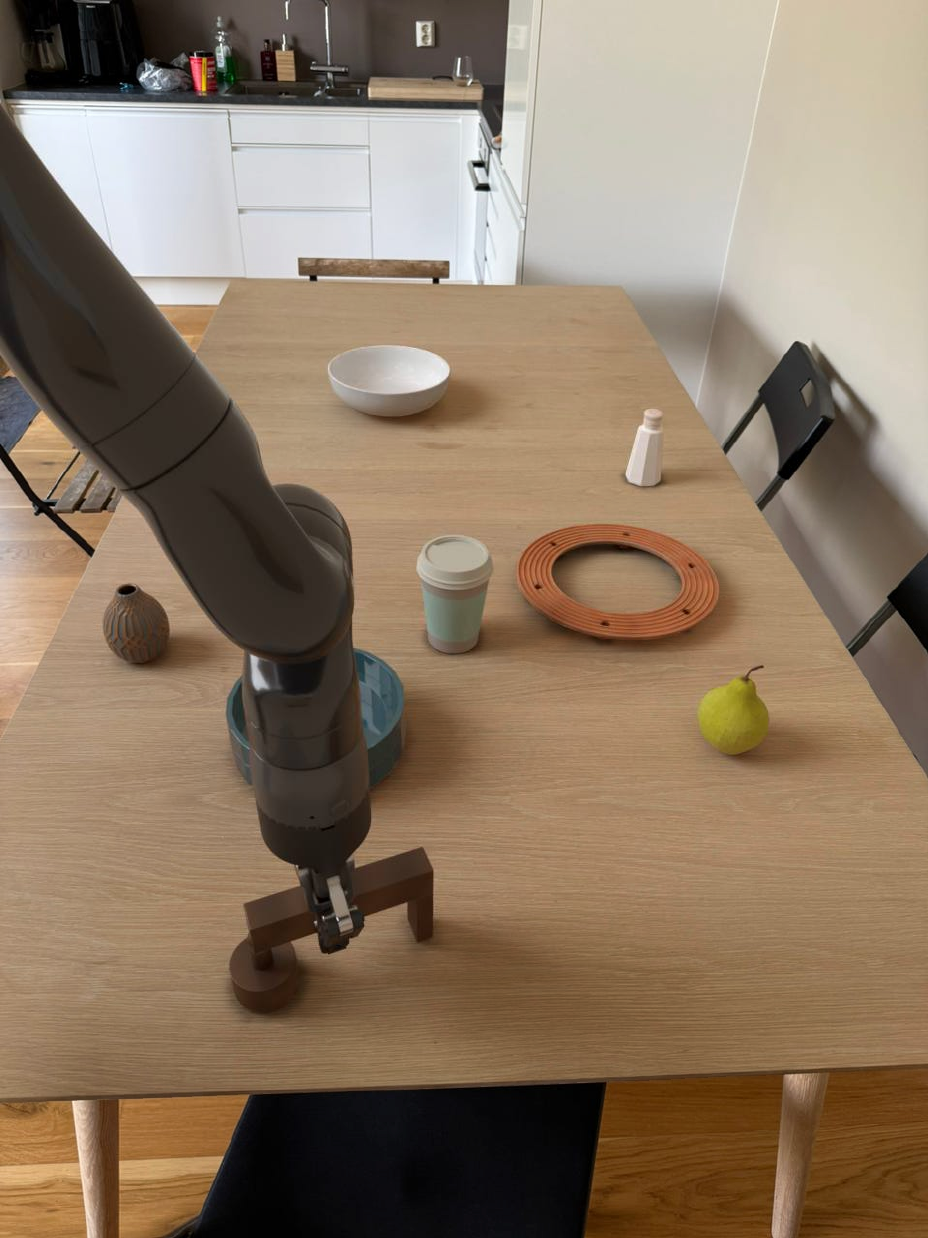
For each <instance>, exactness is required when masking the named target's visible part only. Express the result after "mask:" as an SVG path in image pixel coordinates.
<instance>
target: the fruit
mask: <svg viewBox="0 0 928 1238" xmlns="http://www.w3.org/2000/svg"><path fill="white" fill-rule="evenodd" d="M764 668H765V667H764V665H762V664H761V665H758V666H757V665H756V666H754V667H751V669H750V670H749V671H748V672H747V674H746V675H739V676H736V677H735V678H733V679H732V680H731V681H729V682H728V683H727V684H724V685H720V686H718V687H715V688H713V689H711V690H710V691H708V692H707V693H706V694H705V695H704V696H703V698H702V700H701V702H700V704H699V707H698V709H697V710H698V711H697V724H698V728H699V731H700V733H701V735H702V737H703V739H705V741H706V742H707V743H708V744H710V746H711V747H712V748H713V749H715V750H717V751H719V752H720V753H723V754H725V755H730V756H731V755H738V754H742V753H745V752H747V751H749V750H752V749H754V748H756V747H757V746H758V745H759V744H761V742H762V741H763V740H764V738H765V737H766V736H767V734H768V731H769V725H770V715H769V710H768V707H767V706H766V704H765V702H764V701H763V700H762V698H761V697H760V696H759V695H757V687H756V683H755V682H754V680H753V679H752V678H750V677H749V676H750V674H751V673H752V672H754V671H758V670H759V669H764Z"/></svg>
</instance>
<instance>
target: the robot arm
mask: <svg viewBox="0 0 928 1238" xmlns="http://www.w3.org/2000/svg"><path fill="white" fill-rule="evenodd" d="M0 356H1V358H2V360H3V361H4V363H5V364H6V365H7V367H8V368H9V369H10V371H11V372H12V373H13V375H14V376H15V378H16V379H17V381H18V382H19V383H20V385H21V386H22V387H23V389H24V390H25V392H26V393H27V394H28V395H29V397H30V398H31V399H32V400H33V402H34V403H35V404H36V406H37V407H38V408H39V409H40V410H41V412H42V413H43V414H44V415H45V416H46V418H47V419H49V421H50V422H51V423H52V424H53V425H54V426H55V427H56V429H58V431H59V432H60V433H61V434H62V435H63V436H64V437H65V438H66V439H67V440H68V441H69V442H70V444H71V445H72V446H74V447H75V449H76V450H77V451H78V452H79V453H80V454H81V455H82V456H83V457H84V458H85V459H86V460H87V461H88V462H89V463H90V464H91V466H93V468H95V469H96V471H98V472H99V474H101V476H102V477H104V479H105V480H106V481H107V482H108V483H109V484H110V485H111V486H112V487H113V488H115V489H116V491H117V492H118V493H119V494H120V495H121V496H122V497H123V498H124V499H126V500H127V502H129V503H130V504H131V505H132V506H133V507H134V508H135V509H136V510H137V511H138V512H139V513H140V515H141V516H142V517H143V519H144V520H145V522H146V524H147V525H148V527H149V528H150V531H152V534H153V536H154V537H155V540H156V541H157V543H158V545H159V547H160V548H161V550H162V552H163V553H164V555H165V556H166V558H167V559H168V561H169V563H170V564H171V566H172V567H173V568H174V570H175V572H176V574H178V576H179V578H180V579H181V580H182V582H183V584H184V586H185V587H186V588H187V590H188V591H189V593H190V595H191V596H192V597H193V599H194V600H195V602H196V604H197V605H198V606H199V607H200V609H201V610H202V612H203V613H204V614H205V616H206V617H207V618H208V619H209V620H210V622H211V624H213V626H215V628H216V629H217V630H218V631H219V632H220V633H221V634H222V635H223V636H224V637H225V638H226V639H227V640H229V641H230V642H231V643H233V645H235V646H237V647H238V648H239V649H241V650H242V651H243V663H242V674H241V676H242V698H243V706H244V712H245V718H246V724H247V730H248V736H249V743H250V749H249V763H250V772H251V777H252V783H253V786H252V788H253V793H254V798H255V806H256V811H257V818H258V822H259V823H258V824H259V828H260V834H261V838H262V841H263V842H264V844H265V846H266V848H267V849H268V850H269V851H270V852H271V853H272V854H273V855H274V856H275V857H277V859H280V860H281V861H283V862H286V863H287V864H291V865H293V867H294V871H295V874H296V877H297V878H298V883H299V886H300V885H301V887H302V888H303V894H304V899H305V902H306V905H307V908H308V911H309V913H311V914H314V918H315V921H314V925H315V928H316V927H317V933H316V934H317V941H318V946H319V950H320V952H321V954H324V955H326V954H327V955H331V954H334V953H338V952H341V951H343V950H346V949H347V947H348V946H349V945H350V939H351V940H352V939H354V938H357V937H359V936H360V934H361V932H362V931H363V929H364V928H365V921H366V918H365V917H366V916H365V917H364V914H363V913H361V911H360V909H357V906H356V905H353V906H350V907H349V903H350V902H351V901H353V899H354V898H355V892H354V884H353V876H352V873H353V871H354V870H355V868H356V864H355V863H356V862H355V856H354V853H355V852H356V851H357V850H358V848H360V846H362V844H363V843H364V841H365V840H366V838H367V837H368V835H369V832H370V830H371V825H372V819H373V818H372V815H373V814H372V801H371V800H372V799H371V788H370V779H369V762H368V749H367V743H366V739H365V735H364V731H363V726H362V709H361V693H360V684H359V678H358V672H357V667H356V662H355V656H354V649H353V647H354V642H353V640H354V639H353V614H354V610H355V583H354V563H353V561H354V560H353V543H352V542H353V541H352V536H351V531H350V529H349V526H348V524H347V522H346V519H345V518H344V516H343V514H342V513H341V511H340V510H339V509H338V508H337V506H336V505H335V503H333V502H332V501H331V500H330V499H328V497H326V496H325V495H323V493H321V492H319V491H317V490H316V489H313V488H311V487H309V486H306V485H302V484H298V483H276V484H272V482H271V481H270V479H269V477H268V475H267V474H266V470H265V467H264V464H263V460H262V456H261V450H260V446H259V442H258V441H259V440H258V438H257V435H256V433H255V431H254V429H253V428H252V426H251V424H250V422H249V421H248V419H247V417H246V416H245V414H244V412H242V410H241V409H240V407H239V406H238V405H237V404H236V402H235V400H233V399H232V397H231V396H230V394H229V393H228V392H227V391H226V389H225V388H224V387H223V385H222V384H221V383H220V382H219V380H217V378H216V377H215V376H214V375H213V374H212V372H211V371H210V370H209V368H208V367H207V366H206V364H205V363H204V362H203V360H201V358H200V357H199V356H198V355H197V353H196V352H195V351H194V350H193V349H192V347H191V346H190V345H189V344H188V343H187V341H186V340H185V339H184V337H183V336H182V335H181V334H180V332H179V331H178V330H177V328H175V327H174V324H172V322H171V321H170V320H169V319H168V317H166V315H165V314H164V313H163V311H162V310H161V309H160V308H159V307H158V306H157V305H156V303H155V302H154V301H153V299H152V298H151V297H150V296H149V294H147V292H146V291H145V290H144V288H142V286H141V285H140V283H138V281H137V280H136V279H135V278H134V276H133V275H132V274H131V272H130V271H129V270H128V269H127V268H126V267H125V265H124V264H123V263H122V261H121V260H120V259H119V258H118V257H117V255H116V254H115V253H114V252H113V250H112V249H111V248H110V247H109V245H108V244H107V243H106V242H105V241H104V239H103V238H102V237H101V236H100V234H99V233H98V231H96V229H95V228H94V227H93V226H92V225H91V223H90V222H89V221H88V220H87V218H86V217H85V216H84V214H83V213H82V212H81V211H80V209H79V208H78V207H77V206H76V204H75V203H74V202H73V200H72V199H71V198H70V197H69V196H68V194H67V192H66V191H65V189H64V188H63V187H62V186H61V184H60V183H59V182H58V181H57V179H56V178H55V177H54V175H53V174H52V173H51V171H50V170H49V169H48V168H47V166H46V164H44V162H43V161H42V159H41V158H40V156H39V155H38V154H37V152H36V151H35V150H34V148H33V147H32V145H31V144H30V142H29V141H28V140H27V138H26V137H25V135H24V134H23V132H22V131H21V130H20V128H19V127H18V125H17V124H16V122H15V121H14V119H13V118H12V116H11V114H9V112H8V111H7V109H6V108H5V106H4V105H3V103H2V102H1V101H0ZM312 889H313V890H312ZM329 908H331V909H330V910H327V911H324V910H326V909H329ZM323 911H324V912H323Z"/></svg>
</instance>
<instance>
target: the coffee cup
mask: <svg viewBox="0 0 928 1238" xmlns="http://www.w3.org/2000/svg"><path fill="white" fill-rule="evenodd" d="M415 568H416V569H415V570H416V573H417V574H418V576H419V578H420V587H421V593H422V601H423V602H422V603H423V608H424V615H425V621H426V622H425V624H426V630H427V637H428V642H429V643H430V645H431V647H433V648H434V649H436V650H437V651H439V652H442V653H446V654H463V653H466V652H468V651H470V650H471V649H473V648H474V647H475V646H476V645H477V644H478V640H479V635H480V634H479V633H480V631H481V625H482V620H483V614H484V610H485V604H486V599H487V593H488V588H489V585H490V584H489V583H490V578H491V577H492V576H493V573H494V570H495V569H494V562H493V558H492V556H491V555H490V551H489V549H488V547H487V546H486V545H485V544H484V542H482V541H481V540H479V539H476V538H474V537H471V536H467V535H462V534H447V535H441V536H437V537H435V538H433V539H431V540H429V541H427V542H426V543H425V544H424V545H423V547H422V548H421V552H420V554H419V555H418V557H417V561H416V567H415Z"/></svg>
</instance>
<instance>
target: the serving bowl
mask: <svg viewBox="0 0 928 1238" xmlns="http://www.w3.org/2000/svg"><path fill="white" fill-rule="evenodd" d="M451 370H452V369H451V365H450V364H449V363H448V362H447V361H446V360H445V359H444V358H443V357H441V356H440V355H438V354H436V353H434V352H432V351H428V350H425V349H421V348H418V347H412V346H406V345H396V344H381V345H379V344H377V345H370V346H369V345H368V346H362V347H361V346H360V347H357V348H353V349H350V350H347V351H344V352H341V353H340V354H338V355H336V356H334V358H332V359H331V361H330V362H329V363H328V365H327V375H328V379H329V382H330V386H331V388H332V390H333V391H334V393H335V394H336V396H337V397H338V398H339V399H340V400H341V401H342V402H343V403H344V404H345V405H346V406H348V407H350V408H351V409H354V410H356V411H358V412H360V413H363V414H368V415H371V416H378V417H390V418H392V417H405V416H410V415H414V414H418V413H420V412H423V411H425V410H428V409H429V408H431V407H433V406H434V405H435V404H437V403H438V402H439V401H440V400H441V399H442V398H443V396H444V395H445V393H446V391H447V389H448V386H449V384H450V379H451V373H452V371H451Z"/></svg>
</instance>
